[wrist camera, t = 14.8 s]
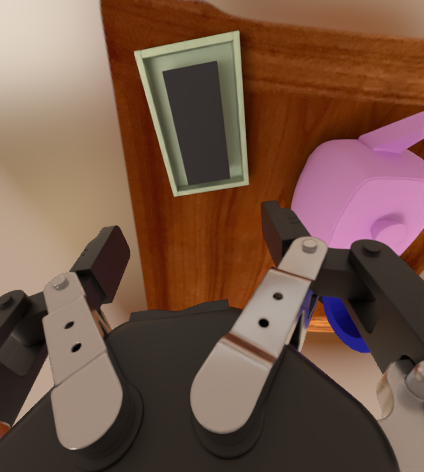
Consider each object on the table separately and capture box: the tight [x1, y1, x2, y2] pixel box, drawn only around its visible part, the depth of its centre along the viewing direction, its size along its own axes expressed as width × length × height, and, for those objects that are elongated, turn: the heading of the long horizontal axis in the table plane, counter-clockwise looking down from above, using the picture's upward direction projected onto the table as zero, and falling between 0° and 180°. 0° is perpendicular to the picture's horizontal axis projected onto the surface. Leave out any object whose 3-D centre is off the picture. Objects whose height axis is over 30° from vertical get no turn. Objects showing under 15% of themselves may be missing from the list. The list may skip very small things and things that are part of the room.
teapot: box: [291, 111, 424, 256], centre depth 26 cm, size 20×12×13 cm, turn 175°
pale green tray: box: [134, 31, 249, 197], centre depth 25 cm, size 10×15×2 cm, turn 9°
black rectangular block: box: [162, 61, 230, 185], centre depth 25 cm, size 11×5×4 cm, turn 9°
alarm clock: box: [318, 296, 370, 353], centre depth 36 cm, size 12×12×15 cm
